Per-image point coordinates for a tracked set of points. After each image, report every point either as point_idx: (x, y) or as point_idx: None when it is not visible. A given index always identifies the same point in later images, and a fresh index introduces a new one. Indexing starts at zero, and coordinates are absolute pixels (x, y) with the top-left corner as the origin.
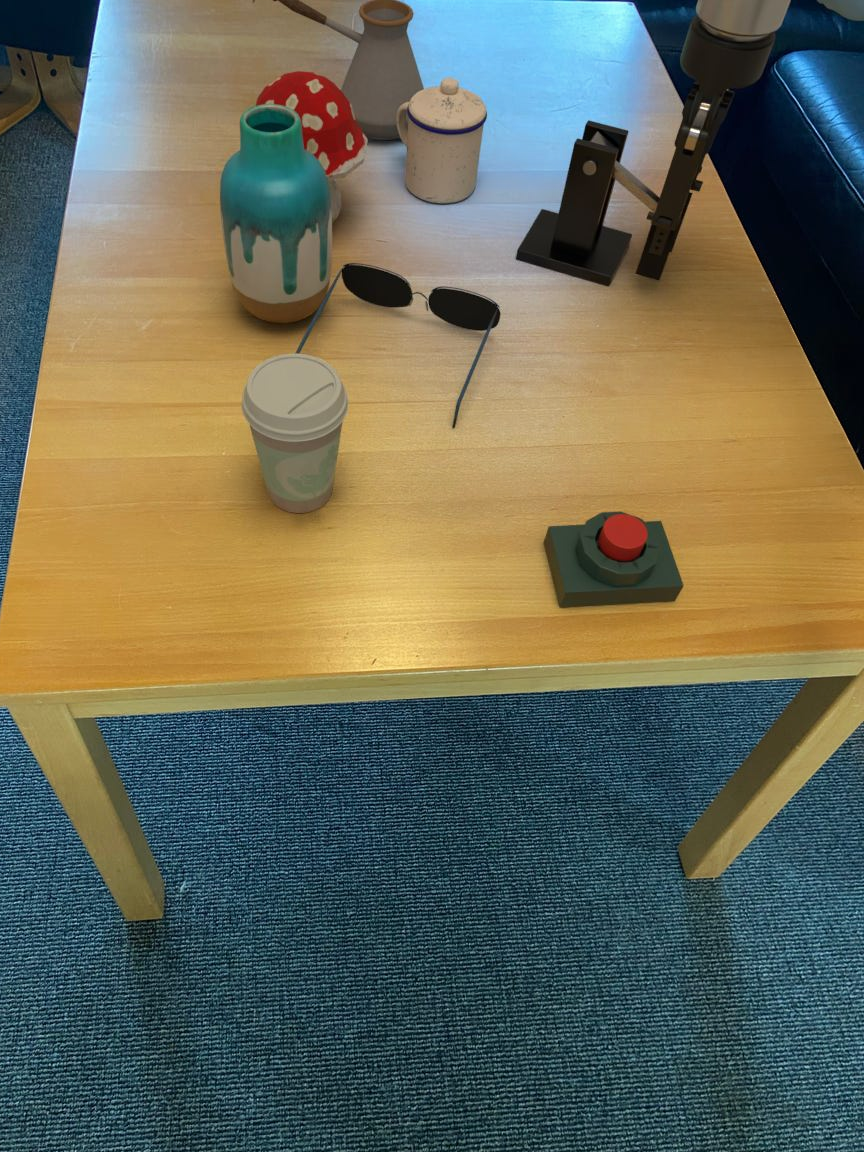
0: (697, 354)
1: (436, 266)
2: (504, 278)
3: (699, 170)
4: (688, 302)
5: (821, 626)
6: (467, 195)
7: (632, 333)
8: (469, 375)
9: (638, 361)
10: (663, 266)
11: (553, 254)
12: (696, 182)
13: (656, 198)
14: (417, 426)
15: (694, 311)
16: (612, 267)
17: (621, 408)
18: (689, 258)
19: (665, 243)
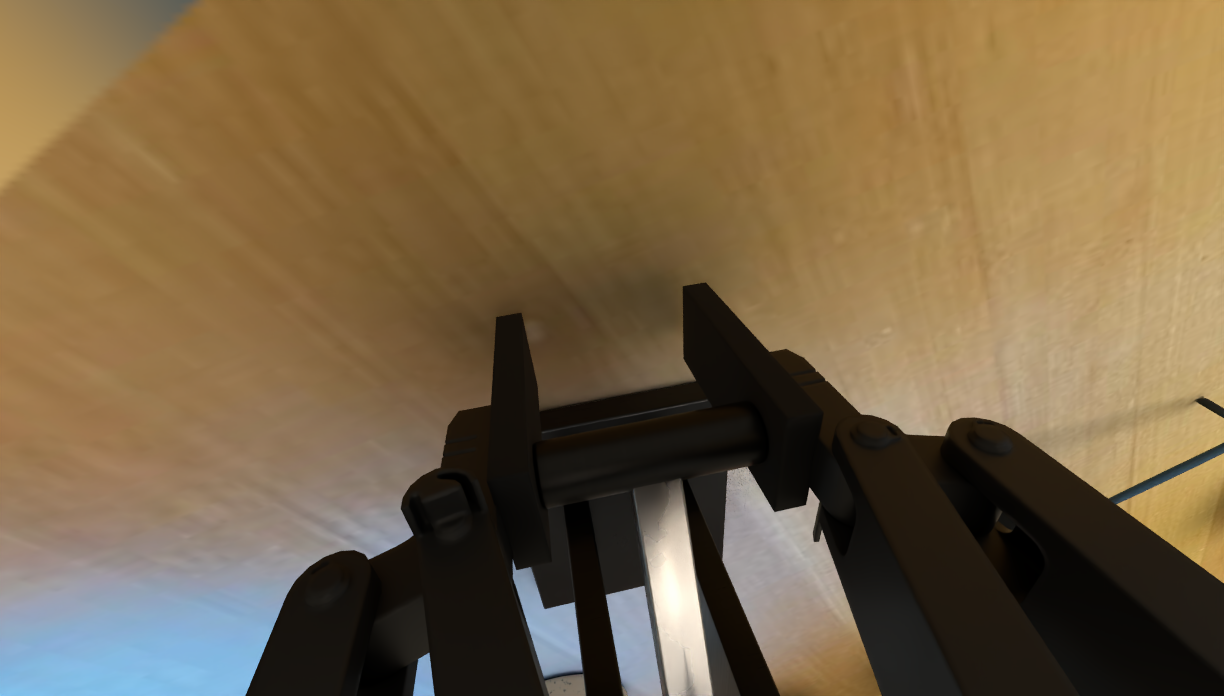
0: (960, 4)
1: (791, 603)
2: (782, 530)
3: (370, 589)
4: (685, 146)
5: None
6: (577, 680)
7: (896, 245)
8: (1213, 457)
9: (1012, 181)
10: (726, 309)
11: (705, 521)
12: (453, 528)
13: (668, 560)
14: (1188, 436)
15: (726, 105)
16: (688, 411)
17: (1196, 148)
18: (424, 241)
19: (817, 380)
